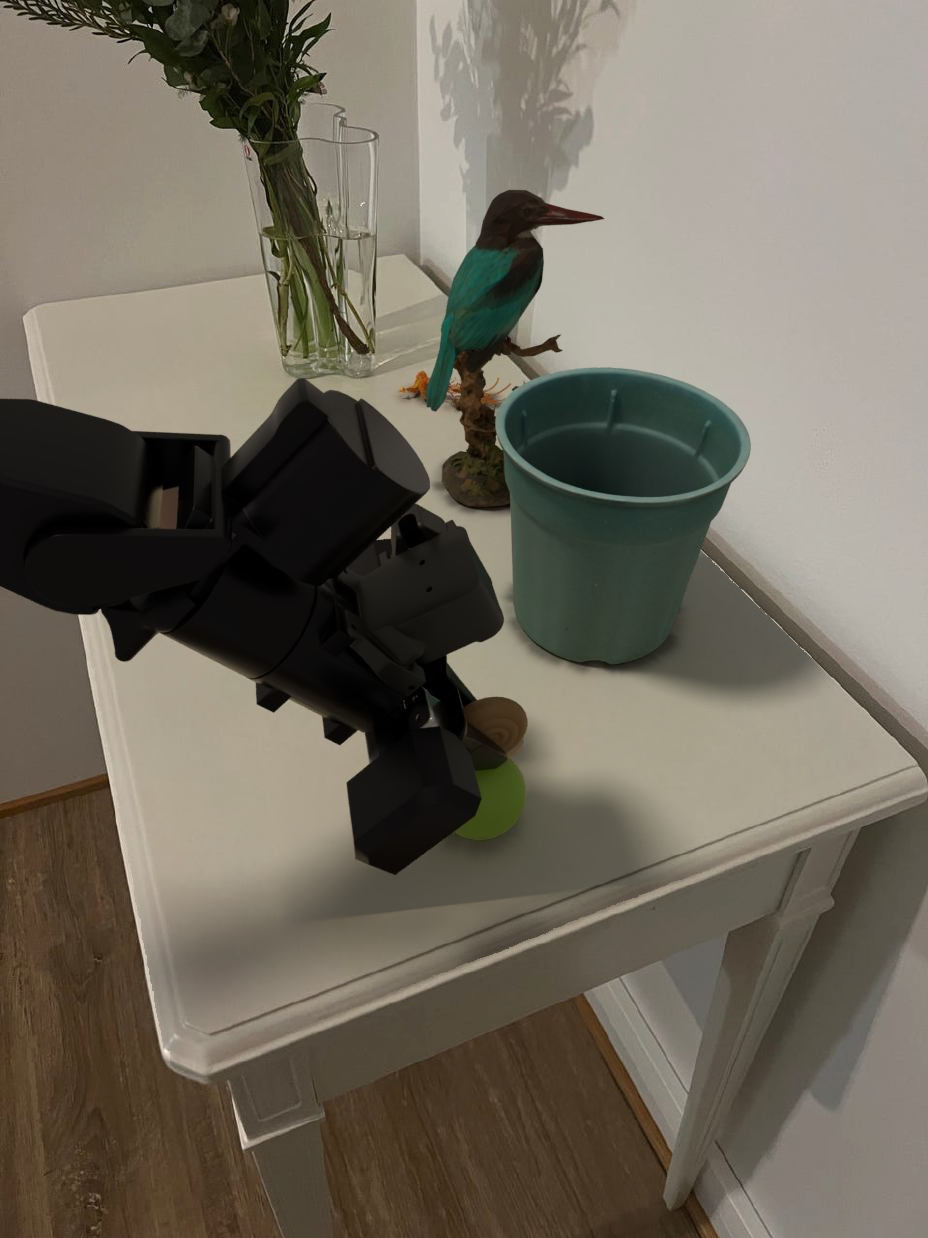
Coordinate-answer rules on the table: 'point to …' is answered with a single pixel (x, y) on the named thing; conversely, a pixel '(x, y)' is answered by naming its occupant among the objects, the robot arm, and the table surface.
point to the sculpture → (490, 333)
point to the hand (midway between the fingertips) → (497, 748)
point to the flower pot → (611, 503)
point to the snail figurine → (505, 782)
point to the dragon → (423, 382)
